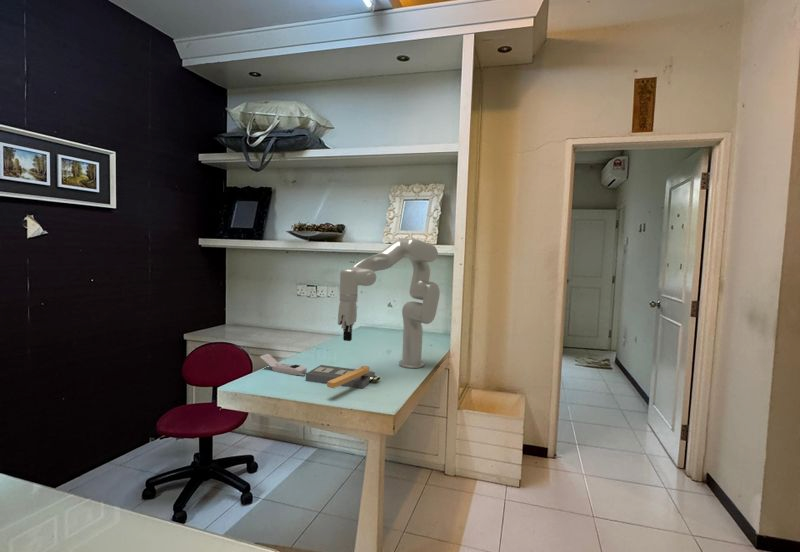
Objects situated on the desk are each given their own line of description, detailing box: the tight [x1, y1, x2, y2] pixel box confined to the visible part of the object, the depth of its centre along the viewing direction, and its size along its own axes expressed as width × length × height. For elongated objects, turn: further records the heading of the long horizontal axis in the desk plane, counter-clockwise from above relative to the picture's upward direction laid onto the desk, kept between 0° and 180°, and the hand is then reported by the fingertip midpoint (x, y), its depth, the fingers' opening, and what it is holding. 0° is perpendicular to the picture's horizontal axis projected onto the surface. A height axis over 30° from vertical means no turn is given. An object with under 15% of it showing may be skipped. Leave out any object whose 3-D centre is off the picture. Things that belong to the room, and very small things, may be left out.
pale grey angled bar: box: [259, 353, 308, 377], centre depth 182 cm, size 6×6×25 cm
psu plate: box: [305, 364, 376, 390], centre depth 174 cm, size 14×26×4 cm, turn 74°
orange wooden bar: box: [326, 365, 370, 389], centre depth 161 cm, size 4×25×2 cm, turn 151°
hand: (347, 340), depth 172 cm, fingers closed
